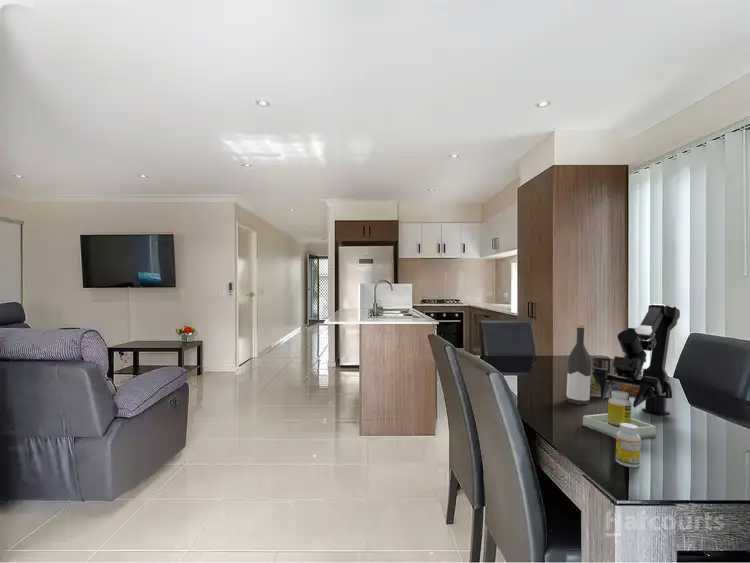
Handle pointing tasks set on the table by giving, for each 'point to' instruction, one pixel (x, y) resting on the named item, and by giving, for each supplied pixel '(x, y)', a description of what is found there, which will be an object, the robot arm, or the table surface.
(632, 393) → the tin
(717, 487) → the table surface
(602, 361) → the coffee box
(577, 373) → the wine bottle
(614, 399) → the pill bottle
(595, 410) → the table surface
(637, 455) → the supplement bottle
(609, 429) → the tray
